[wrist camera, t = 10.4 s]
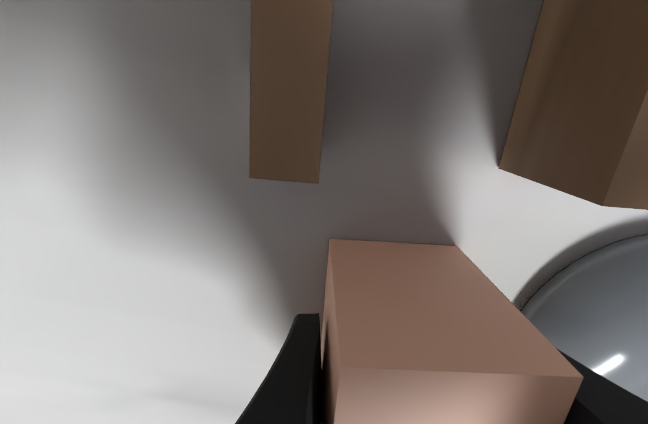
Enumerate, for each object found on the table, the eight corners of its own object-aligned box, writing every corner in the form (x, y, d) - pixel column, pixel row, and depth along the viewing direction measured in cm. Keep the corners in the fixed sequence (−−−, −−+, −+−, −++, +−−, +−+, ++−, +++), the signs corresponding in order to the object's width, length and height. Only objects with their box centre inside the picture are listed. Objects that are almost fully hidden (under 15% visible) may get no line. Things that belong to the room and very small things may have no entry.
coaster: (818, 242, 10) (848, 251, 9) (688, 441, 13) (705, 457, 12) (545, 221, 10) (560, 229, 9) (474, 432, 13) (482, 447, 12)
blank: (456, 246, 10) (584, 377, 5) (423, 390, 12) (493, 582, 7) (329, 238, 10) (340, 367, 5) (317, 386, 12) (316, 579, 7)
